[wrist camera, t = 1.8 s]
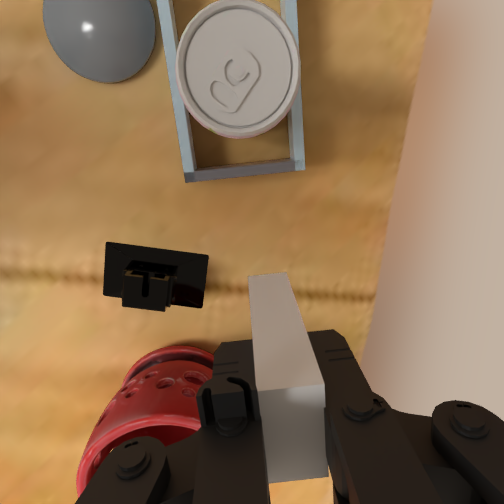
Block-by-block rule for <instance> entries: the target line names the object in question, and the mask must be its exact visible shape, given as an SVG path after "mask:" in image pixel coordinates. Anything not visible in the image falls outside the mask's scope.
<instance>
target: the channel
mask: <svg viewBox="0 0 504 504" xmlns="http://www.w3.org/2000/svg"><path fill="white" fill-rule="evenodd" d="M157 7H158V13H159V19H160V25H161V32H162V38H163V44H164V51H165V57H166V63H167V70H168V76H169V82H170V89H171V95H172V101H173V107H174V114H175V120H176V126H177V133H178V139H179V145H180V152H181V158H182V164H183V171H184V177H185V183H188V182H197V181H207V180H216V179H225V178H235V177H244V176H253V175H262V174H272V173H281V172H290V171H299V170H305V154H304V135H303V116H302V97H301V80H300V84H299V89H298V94H297V96H296V98H295V100H294V103H293V105H292V107H291V108H290V110H289V111H288V113H287V117H288V132H289V148H290V158H287V159H278V160H269V161H260V162H250V163H241V164H232V165H222V166H213V167H204V168H197V165H196V158H195V151H194V144H193V137H192V131H191V124H190V117H189V111H188V109H187V108H186V106H185V104H184V102H183V100H182V98H181V96H180V93H179V90H178V86H177V82H176V72H175V63H176V54H177V48H178V45H179V42H178V35H177V28H176V21H175V15H174V8H173V1H172V0H157ZM280 9H281V18H282V19H283V20H284V21H285V22H286V23H287V25H288V27H289V28H290V30H291V31H292V33H293V35H294V37H295V40H296V43H297V46H298V48H299V39H298V20H297V1H296V0H280Z"/></svg>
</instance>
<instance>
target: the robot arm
mask: <svg viewBox="0 0 504 504" xmlns="http://www.w3.org/2000/svg"><path fill="white" fill-rule="evenodd" d="M248 285H249V299H250V312H251V326H252V339H251V340H242V341H233V342H223V343H221V345H220V346H219V347H218V349H217V350H216V351H215V353H214V361H213V371H212V378H211V379H209V380H208V381H206V382H205V383H204V384H203V385H202V386H201V387H200V388H199V390H198V392H197V394H196V401H197V407H198V412H199V418H200V423H201V427H200V428H199V429H198V431H196V432H195V433H194V434H192V435H191V436H189V437H187V438H185V439H183V440H181V441H179V442H176V443H174V444H171V445H168V446H166V447H165V446H164V444H163V443H162V442H161V441H160V440H159V439H157V438H153V437H150V436H143V437H135V438H133V439H130V440H127V441H125V442H123V443H122V444H120V445H119V446H117V447H116V448H114V449H113V450H112V451H111V452H110V453H109V454H108V456H107V457H106V458H105V459H104V460H103V462H102V463H101V465H100V466H99V468H98V469H97V471H96V472H95V474H94V475H93V477H92V478H91V480H90V481H89V483H88V484H87V486H86V488H85V489H84V491H83V492H82V494H81V495H80V497H79V498H78V500H77V501H76V503H75V504H271V502H270V494H269V484H268V483H277V482H286V481H295V480H304V479H313V478H322V477H329V473H328V465H329V469H330V473H331V476H332V480H333V497H334V504H504V421H503V420H501V419H500V418H499V417H497V416H496V415H495V414H493V413H492V412H490V411H488V410H487V409H485V408H484V407H481V406H479V405H476V404H473V403H470V402H464V401H456V400H455V401H447V402H443V403H441V404H439V405H438V406H436V407H435V409H434V411H433V413H432V417H428V416H422V415H414V414H408V413H404V412H399V411H397V410H394V409H392V408H391V407H390V406H389V405H388V403H387V402H386V401H385V400H384V398H382V397H381V396H379V395H377V394H376V393H374V392H372V390H371V388H370V386H369V384H368V382H367V380H366V378H365V377H364V375H363V373H362V371H361V369H360V367H359V365H358V363H357V361H356V359H355V358H354V355H353V353H352V351H351V350H350V347H349V345H348V343H347V342H346V340H345V338H344V337H343V336H342V335H340V334H339V333H338V332H336V331H335V330H334V329H332V330H323V331H314V332H307V331H306V328H305V325H304V322H303V320H302V317H301V314H300V311H299V308H298V305H297V302H296V299H295V296H294V293H293V290H292V287H291V285H290V282H289V279H288V276H287V273H286V272H282V273H273V274H264V275H255V276H248Z"/></svg>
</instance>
